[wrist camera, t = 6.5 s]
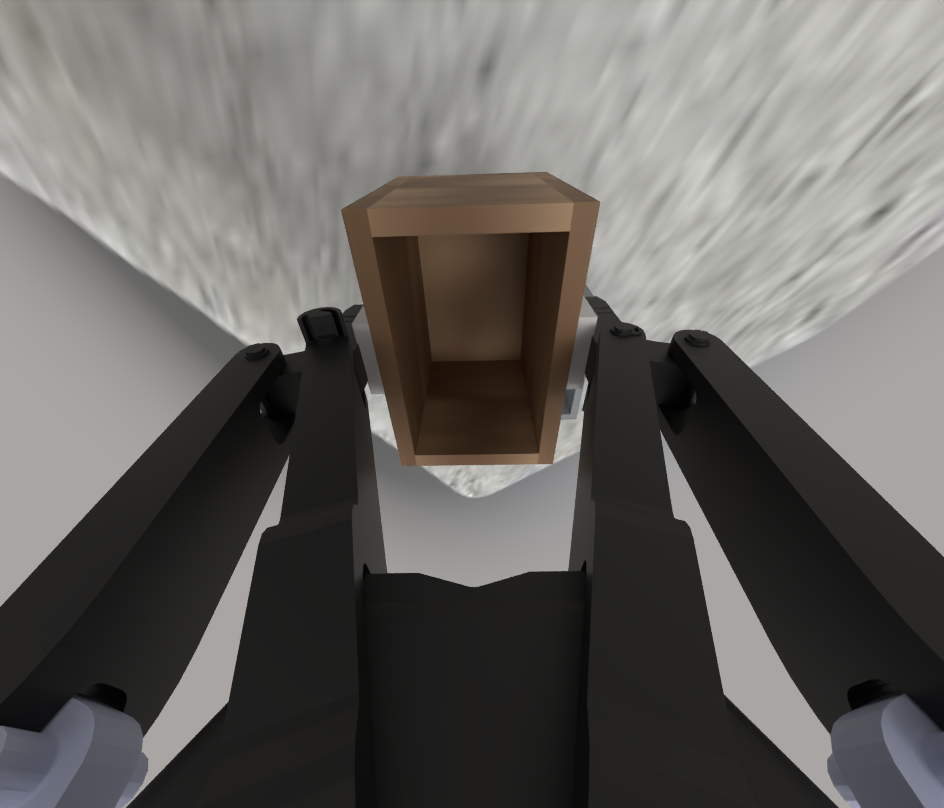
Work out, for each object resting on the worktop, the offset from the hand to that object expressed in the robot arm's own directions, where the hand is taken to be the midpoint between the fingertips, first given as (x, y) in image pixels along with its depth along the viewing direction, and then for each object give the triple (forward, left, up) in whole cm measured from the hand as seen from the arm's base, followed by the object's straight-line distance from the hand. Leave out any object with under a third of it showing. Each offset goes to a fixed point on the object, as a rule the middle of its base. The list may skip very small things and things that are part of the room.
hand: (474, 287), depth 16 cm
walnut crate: (0, 0, 0) cm, 0 cm away
